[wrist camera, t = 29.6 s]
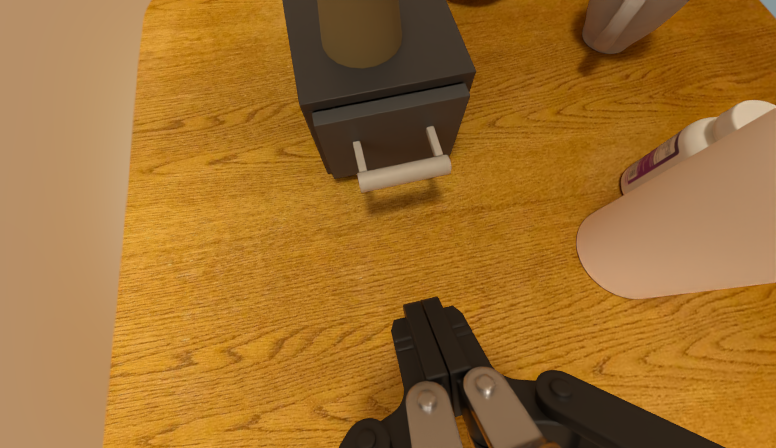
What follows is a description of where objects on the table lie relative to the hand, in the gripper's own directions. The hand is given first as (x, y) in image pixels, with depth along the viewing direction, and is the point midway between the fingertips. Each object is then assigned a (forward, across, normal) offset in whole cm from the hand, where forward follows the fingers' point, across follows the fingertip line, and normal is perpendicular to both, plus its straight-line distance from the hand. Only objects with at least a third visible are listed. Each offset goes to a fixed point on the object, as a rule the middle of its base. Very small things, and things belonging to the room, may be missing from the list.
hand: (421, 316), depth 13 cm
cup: (+10, -20, +8) cm, 24 cm away
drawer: (+21, -2, -5) cm, 22 cm away
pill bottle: (+14, -25, +4) cm, 29 cm away
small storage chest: (+25, -2, -7) cm, 26 cm away
